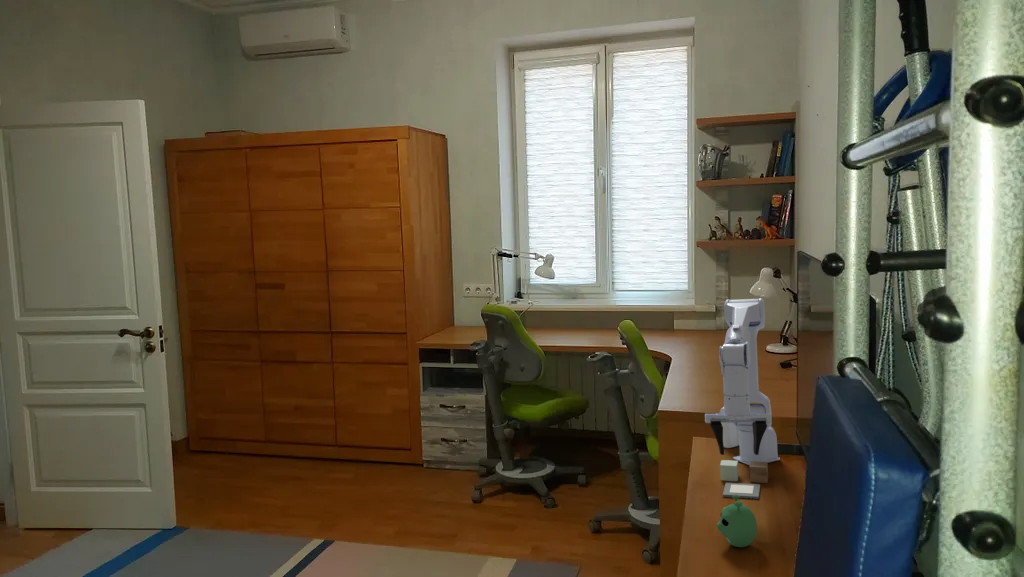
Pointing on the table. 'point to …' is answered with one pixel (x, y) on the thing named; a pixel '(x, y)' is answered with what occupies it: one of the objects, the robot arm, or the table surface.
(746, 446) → the robot arm
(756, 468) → the walnut block
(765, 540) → the table surface
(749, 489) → the grey flat square tile
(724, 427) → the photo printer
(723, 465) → the sage block
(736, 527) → the alien toy
